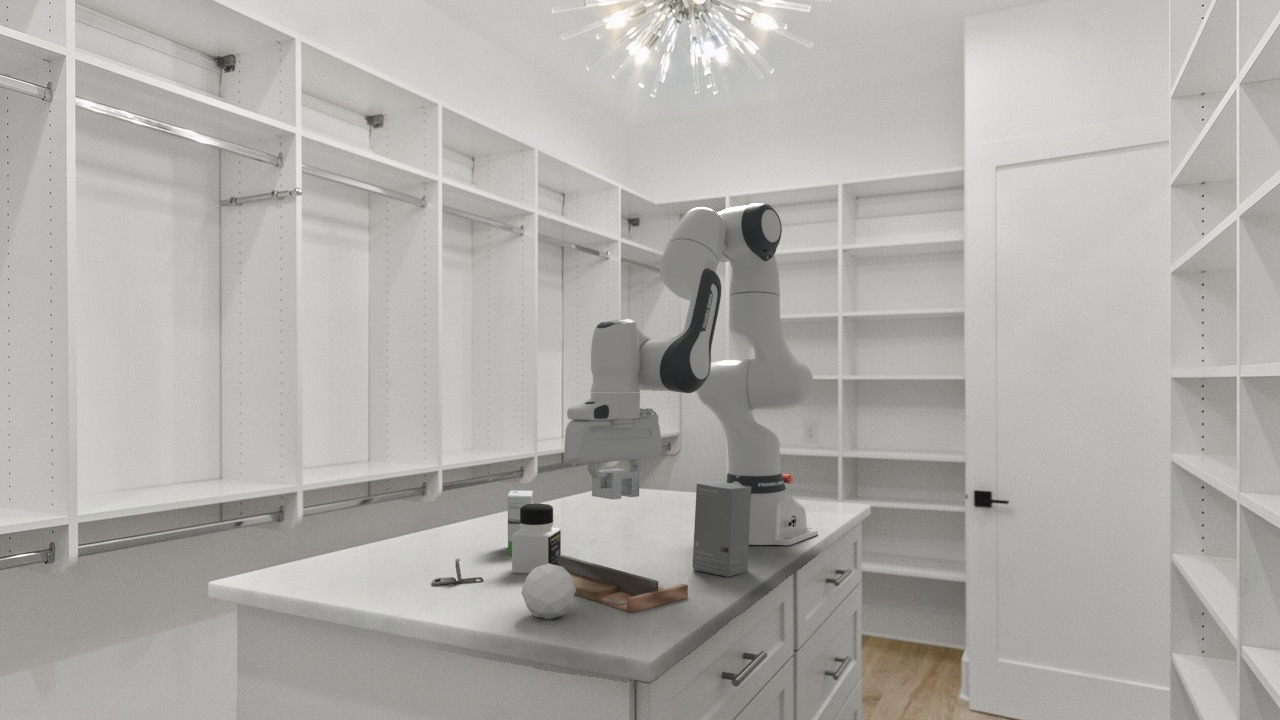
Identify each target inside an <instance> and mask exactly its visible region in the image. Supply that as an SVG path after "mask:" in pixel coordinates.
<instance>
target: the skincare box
mask: <svg viewBox="0 0 1280 720" xmlns="http://www.w3.org/2000/svg"><path fill="white" fill-rule="evenodd" d="M695 489H696V493H695V509H694V511H695V513H694V531H693V550H692V569H693V571H696V572H701V573H707V574H711V575H717V576H722V577H727V578H729V577H734V576H736V575H741V574H744V573H747V572H749V570H748V568H749V551H750V550H749V548H750V546H749V526H750V503H751V487H749V486H743V485H738V484H733V483H727V482H723V481H708V482H707V481H706V482H705V481H704V482H702V481H701V482H698V483H696V488H695Z"/></svg>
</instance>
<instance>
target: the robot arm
mask: <svg viewBox="0 0 1280 720" xmlns="http://www.w3.org/2000/svg"><path fill="white" fill-rule="evenodd" d="M782 227H783V226H782V221H781V218H780V216H779V214H778V212H777V211H776V210H775V208H773V206H771V205H770V204H767V203H762V202H761V203H759V202H758V203H749V204H748V205H740V206H733V207H728V208H725V209H723V210H721V211H716V210H714V209H712V208H709V207H705V206H699V207H694V208H692V209H690V210H688V211H687V212H686V213H685V214H684V215H683V217H682V218H681V219H680V221H679V222H678V224H677V226H676V227H675V229H674V231H673V232H672V233H671V236H670V238H669V240H668V242H667V244H666V246H665V248H664V252H663V253H662V256H661V259H660V262H659V274H660V278H661V280H662V282H663V284H664V285H665V286H666V287H667V289H668V290H670V291H671V293H673V294H674V295H676V296H677V297H679V298H681V299H683V300H686V301H689V304H688V305H689V306H688V310H687V314H686V319H685V323H684V326H683V327H684V328H683V330H682V331H681V333H680V334H678V335H676V336H675V337H671V338H657V339H655V338H654V339H653V338H652V339H651V337H649V336H647V335H646V334H644V333H643V332H642V331H641V330H640V329H639V328H638V326H637V322H636V320H634V319H632V318H621V319H620V318H619V319H614V320H613V319H612V320H605V321H602V322H599V324H597V325H596V326H595V328H594V331H593V334H592V339H591V346H590V347H591V348H590V371H591V373H592V385H591V387H590V398H588V399H587V400H584V401H582V402H579V403H577V404H574V405H572V406H570V407H568V409H567V410H566V411H567V412H566V415H567V416H566V417H567V419H568V420H570V421H569V422H568V423H567V425H566V428H565V433H564V434H565V435H564V458H565V459H566V461H567V463H569V464H574V465H575V464H576V465H584V464H587V465H586V466H587V467H586V469H587V471H588V472H589V475H590V476H591V479H592V478H593V487H594V488H596V489H600V488H605V486H606V484H605V482H606V478H602V477H601V474H600V472H599V470H602V469H601V468H602V463H608V462H609V463H611V462H620V461H622V462H623V461H628V464H629V466H630V468H629V470H634V471H639V472H640V471H641V468H642V466H643V460H645V459H658V458H660V456H661V454H662V451H663V450H662V449H663V447H662V446H663V445H662V435H661V429H660V428H661V427H660V424H659V415H658V413H657V412H656V411H655V410H653V408H649V407H648V408H642V407H641V391H654V392H655V391H656V392H660V391H661V392H667V391H668V392H669V391H670V392H676V393H682V394H693V393H694V392H696V394H697V396H698V399H699V400H700V401H701V403H702V404H703V405H704V406H705V407H707V408H708V409H709V410H710V411H711V412H713V414H714V415H715V416H716V418H717V419H718V420H719V422H720V425H721V426H722V428H723V431H724V435H725V437H726V442H727V443H726V445H727V455H728V472H727V474H726V479H725V481H726V482H725V483H733V484H738V485H743V486H749V487H751V503H750V526H749V545H750V546H751V545H752V546H753V545H754V546H770V545H771V546H791V545H794V544H797V543H799V542H801V541H805V540H807V539H809V538H812V537H816V536H818V530H817V529H815V528H813V527H811V526H810V527H809V526H808V524H807V513H806V510H805V507H804V506H803V505H802V504H800V503H799V501H797V500H796V499H795V498H794V496H792V495H791V494H790V493H789V492H787V490H786V489H787V488H786V485H785V484H788V485H789V484H792V483H793V481H794V477H793V475H792V474H787V473H783V474H782V473H781V463H780V462H781V449H780V448H781V446H780V444H781V443H780V439H779V438H778V436H777V434H776V433H775V432H774V431H772V430H771V429H770V428H767V427H766V426H764V425H762V424H761V423H758V422H757V421H756V419H755V417H754V414H753V411H754V410H761V411H762V410H770V411H771V410H772V411H773V410H775V411H776V410H777V411H778V410H779V411H780V410H781V411H783V410H789V409H790V410H791V409H795V408H800V407H803V406H805V405H806V404H807V403H808V402H809V400H810V399H811V397H812V394H813V391H814V385H815V382H814V377H813V374H812V372H811V369H810V367H808V366H807V365H806V363H805V362H803V361H802V360H800V359H799V357H797V356H796V355H795V354H794V352H792V350H791V349H790V348H789V346H788V344H787V342H786V341H785V340H786V339H785V338H784V335H783V331H782V326H781V325H782V322H781V307H780V305H781V291H780V290H781V288H780V287H781V286H780V276H779V275H780V274H779V270H778V269H779V268H778V263H777V259H776V256H775V254H776V252H777V248H778V246H779V244H780V241H781V237H782V234H783V233H782V232H783V230H782ZM726 262H729V264H730V267H731V276H730V280H729V283H730V284H729V301H728V305H729V307H728V328H729V331H730V333H731V334H732V336H733V337H734V338H735V339H737V340H738V341H740V342H742V343H744V344H745V345H748V346H751V347H752V348H753V351H754V355H755V356H754V358H752V359H751V358H749V359H723V360H722V359H720V360H717V361H712V347H713V346H712V345H713V341H714V335H715V330H716V325H717V320H718V315H719V310H720V303H721V297H722V282H721V279H720V277H719V275H718V274H717V272H716V271H717V269H718V266H719V263H726Z"/></svg>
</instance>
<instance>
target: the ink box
mask: <svg viewBox="0 0 1280 720" xmlns="http://www.w3.org/2000/svg"><path fill="white" fill-rule="evenodd" d="M533 494H534V491H533V490H509V492H508V494H507V555H512V534H514V533H516V532H517V531H519V530H521V529H522V528H521V527H520V508H521V507H522V506H524V505H526V504H531V503H534V495H533Z"/></svg>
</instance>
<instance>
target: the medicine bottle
mask: <svg viewBox="0 0 1280 720" xmlns="http://www.w3.org/2000/svg"><path fill="white" fill-rule="evenodd" d="M520 527H521V528H522V529H521V530H519V531H517V532H516V533H514V534H512V554H511V573H512V574H521V575H522V574H523V575H529V574H530V573H531V571H532V570H533V569H534V568H536V567H539V566H542V565H545V564H548V563H549V564H553V565H557V566H558V556H560V555H562V553H561V552H562V551H561V547H562V546H561V545H562V544H561V540H562V539H561V538H562V537H561V536H562V535H561V532H562V531H561V527H560V528H559V527H554V507H553V506H552V505H551V504H548V503H544V502H533V503H531V504H526V505H524V506H522V507H521V508H520Z"/></svg>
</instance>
